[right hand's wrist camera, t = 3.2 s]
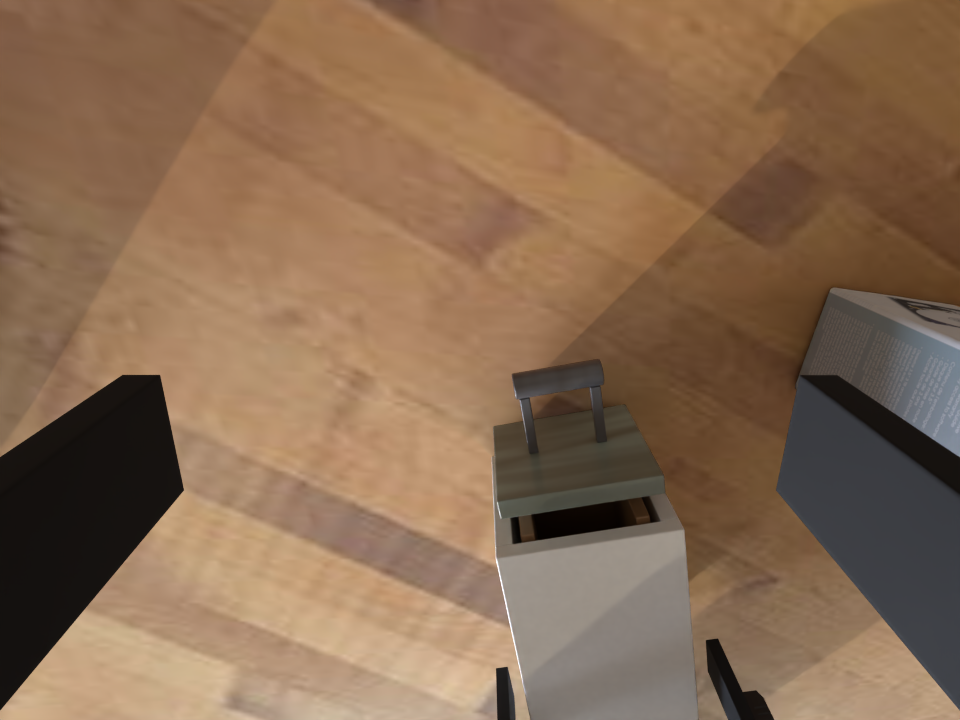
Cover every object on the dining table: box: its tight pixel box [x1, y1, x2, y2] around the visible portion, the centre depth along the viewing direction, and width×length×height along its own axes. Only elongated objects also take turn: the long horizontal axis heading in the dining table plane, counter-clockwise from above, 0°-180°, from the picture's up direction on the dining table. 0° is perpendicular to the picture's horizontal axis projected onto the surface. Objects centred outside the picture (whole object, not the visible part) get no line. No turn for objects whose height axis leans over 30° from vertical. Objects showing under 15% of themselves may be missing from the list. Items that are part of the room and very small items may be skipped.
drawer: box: [493, 359, 665, 543], centre depth 38 cm, size 20×9×9 cm, turn 11°
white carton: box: [492, 456, 699, 720], centre depth 40 cm, size 16×10×11 cm, turn 11°
